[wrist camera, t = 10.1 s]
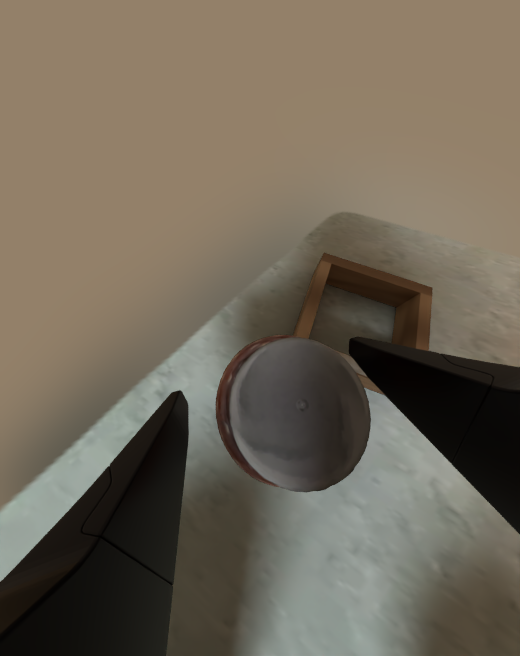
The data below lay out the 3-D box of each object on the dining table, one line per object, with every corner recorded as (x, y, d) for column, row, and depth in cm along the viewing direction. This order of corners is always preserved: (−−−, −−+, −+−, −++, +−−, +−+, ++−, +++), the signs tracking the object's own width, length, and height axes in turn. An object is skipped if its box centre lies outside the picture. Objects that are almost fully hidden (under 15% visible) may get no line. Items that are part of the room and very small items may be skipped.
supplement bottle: (292, 356, 17) (358, 290, 6) (314, 426, 15) (463, 502, 4) (228, 372, 16) (181, 328, 6) (243, 447, 14) (212, 598, 4)
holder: (395, 399, 16) (438, 401, 13) (285, 356, 17) (294, 346, 14) (406, 302, 20) (442, 281, 16) (314, 271, 21) (327, 244, 17)
